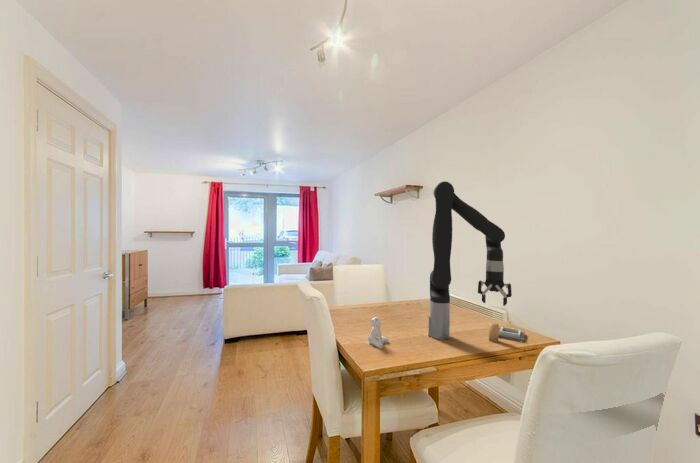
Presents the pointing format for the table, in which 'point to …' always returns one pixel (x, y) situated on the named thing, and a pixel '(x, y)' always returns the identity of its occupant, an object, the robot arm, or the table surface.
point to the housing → (511, 334)
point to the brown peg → (493, 332)
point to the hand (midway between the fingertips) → (494, 304)
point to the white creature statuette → (376, 334)
